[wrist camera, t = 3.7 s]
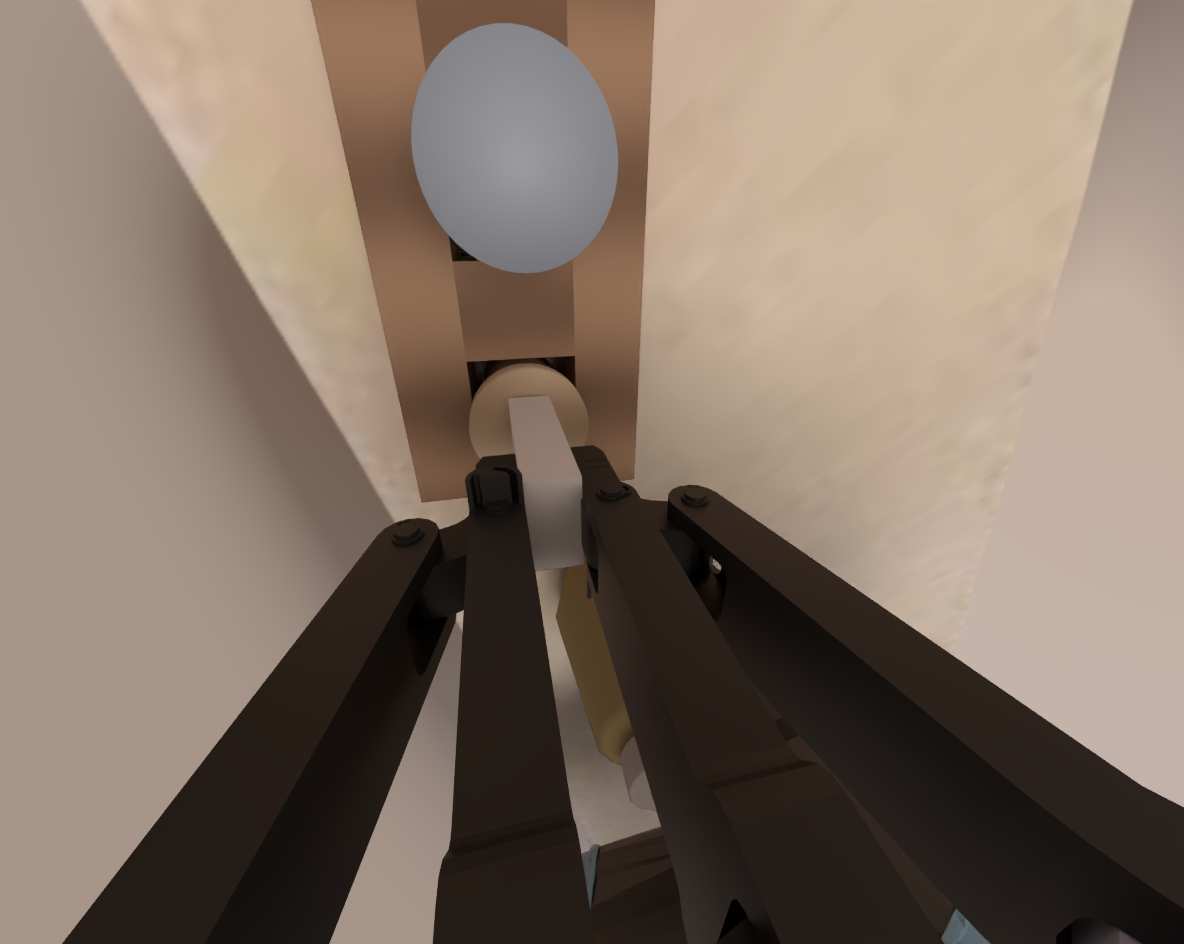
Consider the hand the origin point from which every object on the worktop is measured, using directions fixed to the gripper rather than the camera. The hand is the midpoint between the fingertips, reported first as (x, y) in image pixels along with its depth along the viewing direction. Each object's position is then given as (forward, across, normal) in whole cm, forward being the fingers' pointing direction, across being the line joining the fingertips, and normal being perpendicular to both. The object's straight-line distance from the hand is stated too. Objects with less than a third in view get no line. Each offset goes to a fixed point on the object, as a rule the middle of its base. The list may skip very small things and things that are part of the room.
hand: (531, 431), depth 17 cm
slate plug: (+4, 0, -8) cm, 9 cm away
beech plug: (+7, 0, 0) cm, 7 cm away
